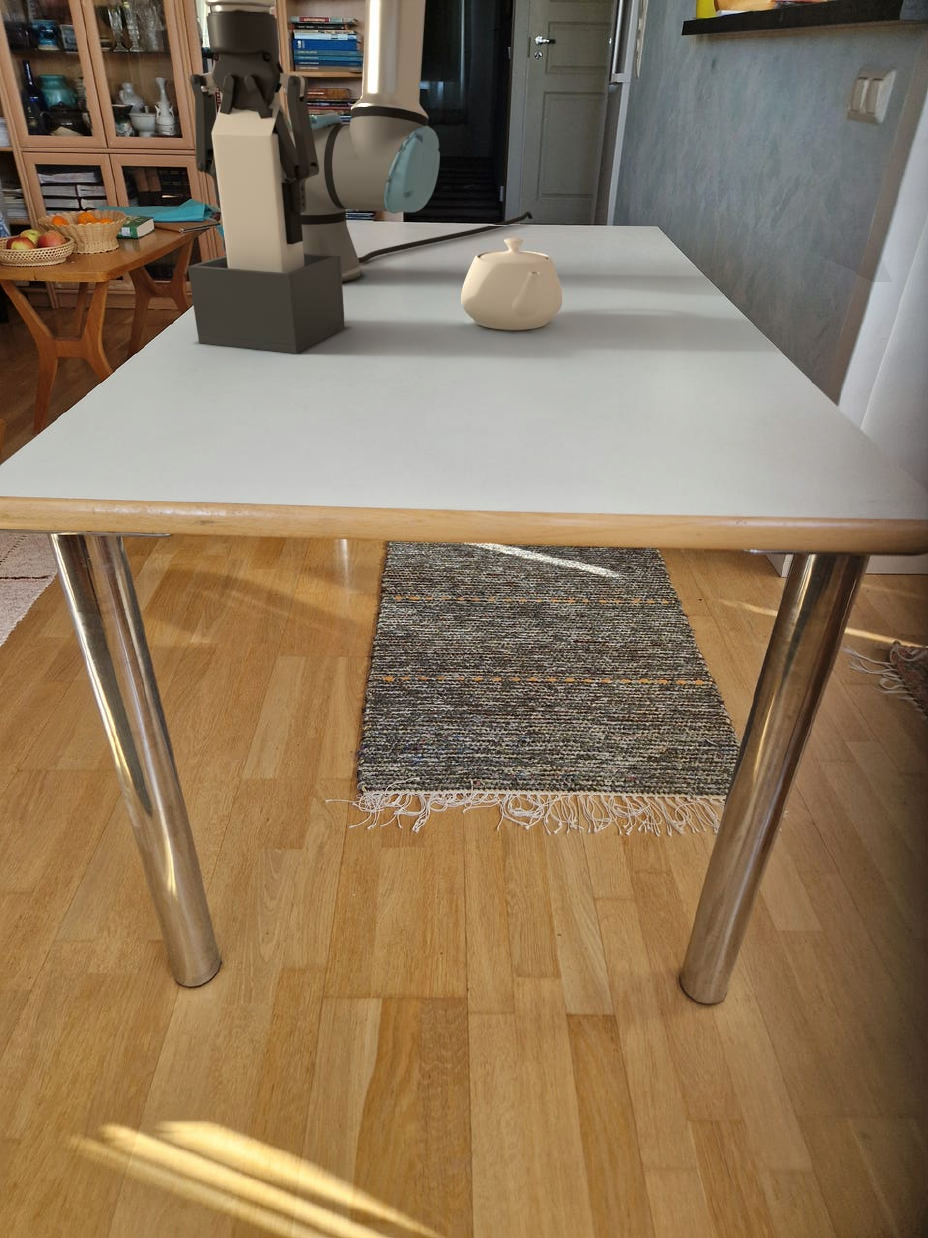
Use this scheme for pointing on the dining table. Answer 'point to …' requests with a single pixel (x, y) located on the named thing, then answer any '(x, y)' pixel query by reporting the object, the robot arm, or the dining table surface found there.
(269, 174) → the milk carton
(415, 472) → the dining table surface
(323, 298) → the waste bin
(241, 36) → the robot arm
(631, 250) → the dining table surface
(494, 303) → the teapot
